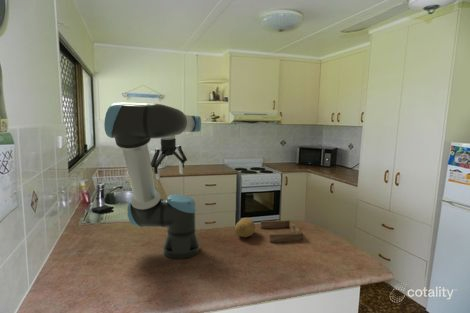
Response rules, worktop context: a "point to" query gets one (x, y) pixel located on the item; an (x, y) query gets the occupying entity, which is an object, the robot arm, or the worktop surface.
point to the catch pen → (294, 236)
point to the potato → (245, 227)
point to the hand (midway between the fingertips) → (169, 176)
